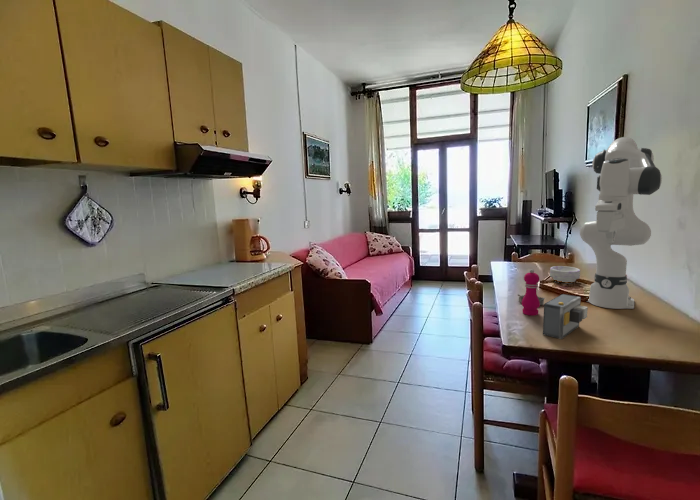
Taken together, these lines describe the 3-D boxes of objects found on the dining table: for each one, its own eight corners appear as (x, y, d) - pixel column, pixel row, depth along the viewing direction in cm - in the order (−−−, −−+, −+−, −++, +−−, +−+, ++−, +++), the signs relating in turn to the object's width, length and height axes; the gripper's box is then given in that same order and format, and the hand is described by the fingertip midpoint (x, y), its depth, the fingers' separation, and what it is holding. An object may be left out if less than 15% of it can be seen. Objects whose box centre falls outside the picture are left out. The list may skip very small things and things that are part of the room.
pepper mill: (541, 316, 154) (543, 270, 152) (523, 315, 156) (525, 270, 153) (536, 311, 161) (538, 267, 158) (519, 310, 163) (520, 267, 160)
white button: (575, 314, 141) (575, 304, 140) (587, 317, 138) (587, 307, 137) (572, 316, 138) (572, 306, 138) (583, 319, 135) (584, 309, 135)
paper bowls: (576, 286, 200) (577, 272, 198) (546, 282, 210) (546, 269, 209) (582, 280, 211) (582, 267, 209) (553, 277, 221) (553, 264, 220)
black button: (570, 318, 137) (570, 308, 136) (582, 320, 134) (582, 310, 133) (566, 320, 135) (567, 310, 134) (578, 323, 132) (579, 312, 131)
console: (561, 322, 147) (562, 292, 145) (579, 326, 142) (580, 295, 140) (542, 334, 135) (544, 302, 133) (561, 339, 130) (563, 305, 128)
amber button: (557, 320, 136) (557, 310, 135) (569, 322, 132) (569, 312, 132) (553, 322, 133) (554, 312, 133) (565, 325, 130) (566, 314, 130)
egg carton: (516, 302, 176) (516, 294, 175) (526, 299, 180) (526, 291, 179) (536, 307, 167) (536, 299, 166) (546, 304, 170) (546, 296, 170)
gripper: (610, 203, 138) (608, 238, 140) (593, 206, 125) (591, 245, 127) (631, 203, 133) (628, 240, 135) (615, 206, 120) (612, 246, 122)
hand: (610, 242), depth 131 cm, fingers closed
